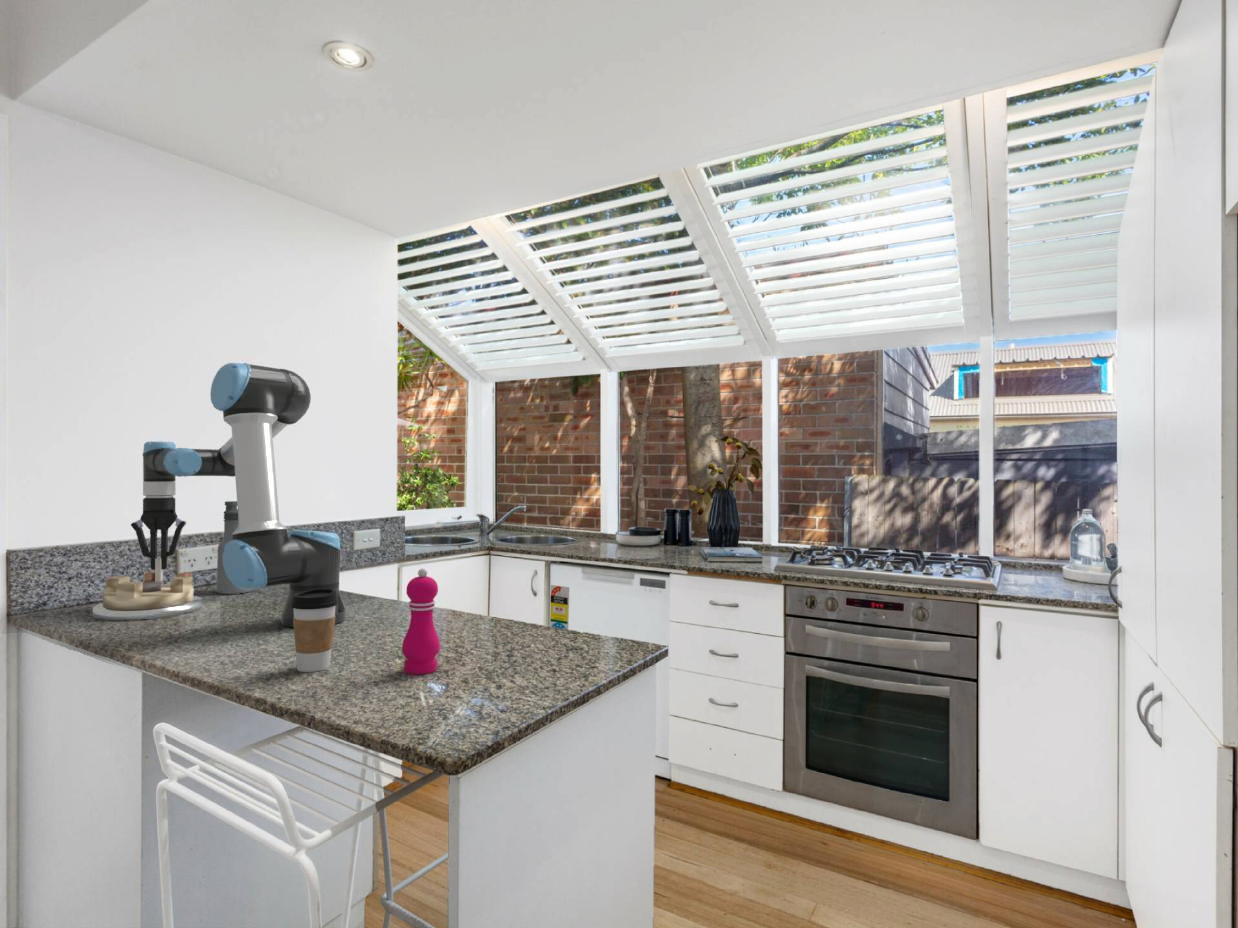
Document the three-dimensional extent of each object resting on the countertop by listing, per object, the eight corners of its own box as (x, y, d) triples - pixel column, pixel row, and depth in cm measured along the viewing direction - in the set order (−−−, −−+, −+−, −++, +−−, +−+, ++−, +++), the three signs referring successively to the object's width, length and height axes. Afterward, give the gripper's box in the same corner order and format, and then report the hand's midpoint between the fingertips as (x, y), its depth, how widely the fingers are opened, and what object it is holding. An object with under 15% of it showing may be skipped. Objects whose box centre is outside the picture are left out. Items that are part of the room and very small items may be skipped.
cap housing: (212, 611, 182) (212, 598, 182) (100, 625, 165) (100, 610, 165) (189, 598, 199) (190, 586, 199) (86, 609, 182) (86, 596, 182)
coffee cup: (345, 666, 135) (347, 590, 135) (306, 676, 128) (308, 597, 128) (319, 659, 140) (321, 586, 140) (280, 669, 133) (282, 592, 133)
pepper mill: (419, 677, 129) (421, 572, 129) (393, 671, 133) (395, 568, 133) (447, 668, 135) (449, 567, 135) (422, 662, 139) (424, 564, 139)
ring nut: (165, 610, 172) (165, 584, 172) (83, 609, 171) (83, 583, 171) (208, 595, 192) (208, 572, 192) (135, 594, 191) (135, 571, 191)
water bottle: (245, 587, 217) (246, 500, 217) (260, 591, 211) (262, 501, 211) (210, 592, 209) (212, 501, 209) (225, 596, 203) (227, 502, 203)
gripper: (188, 495, 196) (187, 577, 196) (134, 496, 190) (134, 580, 190) (184, 497, 189) (183, 581, 189) (128, 497, 183) (127, 585, 183)
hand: (158, 581), depth 189 cm, fingers closed
